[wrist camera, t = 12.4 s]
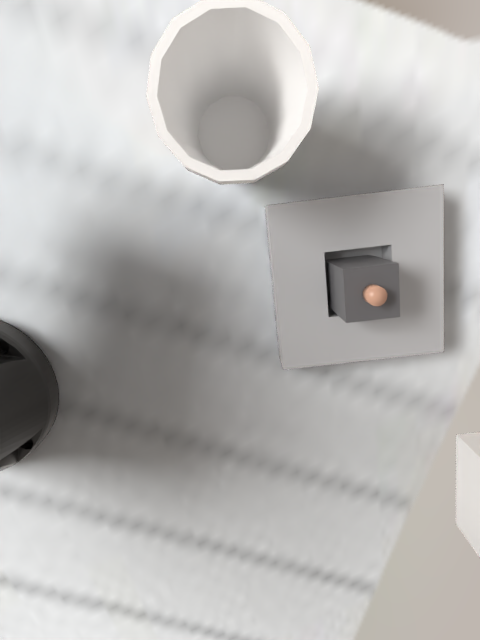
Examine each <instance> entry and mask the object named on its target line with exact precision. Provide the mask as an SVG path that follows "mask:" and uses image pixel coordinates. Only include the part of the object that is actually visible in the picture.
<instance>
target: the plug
mask: <svg viewBox="0 0 480 640" xmlns="http://www.w3.org/2000/svg"><path fill="white" fill-rule="evenodd" d="M325 272H326V286H327V301H328V306H329V307H330V308H331V309H332V310H333V311H334V312H335V313H336V314H337V315H338V316H339V317H340V318H341V319H342V320H343V321H345V322H346V323H352V322H361V321H370V320H379V319H388V318H397V317H400V287H399V263H397V262H393V261H390V260H386V259H383V258H379V257H376V256H372V255H362V256H353V257H344V258H336V259H327V260H325Z"/></svg>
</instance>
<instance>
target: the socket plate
mask: <svg viewBox="0 0 480 640" xmlns="http://www.w3.org/2000/svg"><path fill="white" fill-rule="evenodd" d="M265 215H266V225H267V236H268V246H269V256H270V266H271V277H272V287H273V297H274V307H275V318H276V328H277V338H278V348H279V358H280V361H281V364H282V367H283V370H287V369H296V368H305V367H314V366H323V365H332V364H341V363H350V362H359V361H368V360H377V359H386V358H395V357H405V356H414V355H423V354H432V353H441V352H444V184H441V185H433V186H425V187H416V188H408V189H399V190H391V191H382V192H374V193H365V194H357V195H349V196H340V197H332V198H323V199H315V200H306V201H298V202H289V203H281V204H272V205H266V206H265ZM362 255H372V256H376V257H379V258H383V259H386V260H390V261H393V262H397V263H399V287H400V317H397V318H388V319H379V320H370V321H361V322H352V323H346V322H345V321H343V320H342V319H341V318H340V317H339V316H338V315H337V314H336V313H335V312H334V311H333V310H332V309H331V308H330V307H329V306H328V301H327V286H326V272H325V260H327V259H336V258H344V257H353V256H362Z"/></svg>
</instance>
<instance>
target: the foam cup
mask: <svg viewBox="0 0 480 640" xmlns="http://www.w3.org/2000/svg"><path fill="white" fill-rule="evenodd" d="M318 90H319V86H318V81H317V76H316V72H315V67H314V63H313V58H312V53H311V49H310V45H309V44H308V43H307V41H306V40H305V39H304V37H303V36H302V35H301V33H300V32H299V31H298V29H297V28H296V27H295V25H294V24H293V23H292V21H291V20H290V19H289V17H288V16H287V15H286V13H285V12H283V11H281V10H279V9H277V8H275V7H273V6H271V5H269V4H267V3H265V2H263V1H261V0H201V1H199V2H197V3H196V4H194V5H193V6H191V7H190V8H188V9H186V10H185V11H183V12H182V13H180V14H178V15H177V16H175V17H174V18H172V20H171V22H170V23H169V25H168V27H167V28H166V30H165V32H164V33H163V35H162V37H161V38H160V40H159V42H158V43H157V45H156V47H155V48H154V50H153V52H152V53H151V58H150V67H149V75H148V84H147V93H146V98H147V101H148V105H149V108H150V111H151V115H152V118H153V121H154V124H155V128H156V131H157V134H158V137H159V138H160V139H161V140H162V141H163V143H164V144H165V145H166V146H167V147H168V148H169V150H170V151H171V152H172V153H173V154H174V155H175V157H176V158H177V159H178V160H179V161H180V162H181V163H182V165H183V166H184V167H185V168H186V169H187V170H188V171H190V172H193V173H195V174H197V175H199V176H202V177H204V178H206V179H208V180H211V181H213V182H215V183H218V184H220V185H221V184H240V183H254V182H256V181H258V180H259V179H261V178H263V177H265V176H266V175H268V174H270V173H272V172H273V171H275V170H277V169H279V168H281V167H282V166H284V165H285V164H286V163H287V161H288V160H289V159H290V157H291V156H292V154H293V153H294V152H295V150H296V149H297V147H298V146H299V144H300V143H301V142H302V140H303V139H304V137H305V136H306V135H307V133H308V132H309V130H310V129H311V125H312V120H313V115H314V110H315V105H316V100H317V95H318Z"/></svg>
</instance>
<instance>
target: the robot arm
mask: <svg viewBox="0 0 480 640" xmlns="http://www.w3.org/2000/svg"><path fill="white" fill-rule="evenodd" d="M58 403H59V393H58V385H57V381H56V377H55V374H54V372H53V369H52V367H51V365H50V363H49V361H48V360H47V358H46V356H45V355H44V354H43V352H42V351H41V350H40V348H39V347H38V346H37V345H36V344H35V343H34V342H33V341H32V340H31V339H30V338H29V337H27V336H26V335H25V334H24V333H22V332H21V331H19V330H18V329H16V328H14V327H13V326H11V325H9V324H7V323H5V322H2V321H0V471H2V470H4V469H6V468H8V467H10V466H12V465H14V464H16V463H18V462H19V461H21V460H22V459H24V458H25V457H26V456H28V455H29V454H30V453H31V452H32V451H33V450H34V449H35V448H36V447H37V446H38V445H39V443H40V442H41V441H42V440H43V439H44V438H45V436H46V435H47V434H48V432H49V431H50V429H51V427H52V425H53V423H54V421H55V418H56V415H57V411H58ZM456 525H457V527H458V528H459V529H460V531H461V532H462V534H463V535H464V536H465V538H466V539H467V541H468V542H469V543H470V545H471V546H472V548H473V549H474V551H475V552H476V553H477V555H478V556H479V557H480V432H472V433H463V434H456Z"/></svg>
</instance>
